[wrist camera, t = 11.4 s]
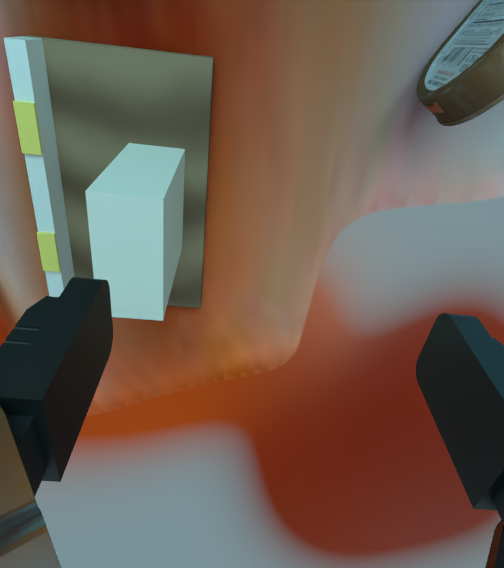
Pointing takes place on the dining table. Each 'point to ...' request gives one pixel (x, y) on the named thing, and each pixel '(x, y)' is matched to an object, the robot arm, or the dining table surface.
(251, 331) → the dining table surface
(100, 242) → the carton
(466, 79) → the tin
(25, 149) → the rail
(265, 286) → the dining table surface
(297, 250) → the dining table surface
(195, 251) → the shelf board
